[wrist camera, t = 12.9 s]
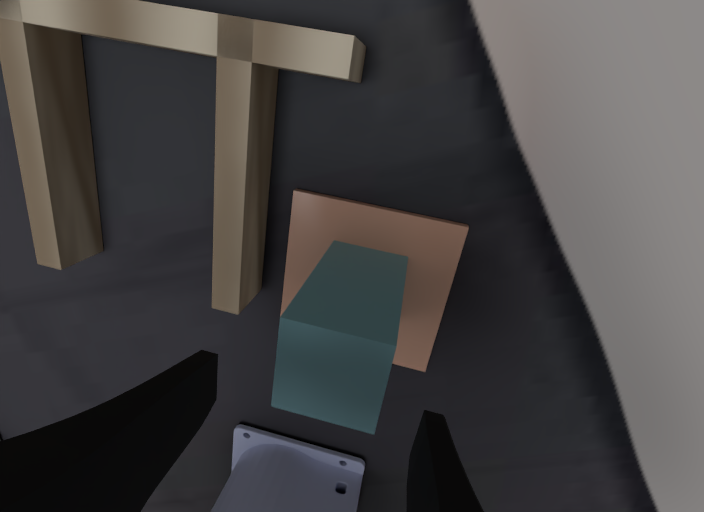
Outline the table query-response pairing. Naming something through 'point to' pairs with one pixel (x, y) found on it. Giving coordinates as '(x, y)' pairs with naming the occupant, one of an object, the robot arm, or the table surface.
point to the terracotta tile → (385, 235)
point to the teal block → (341, 337)
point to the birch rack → (230, 131)
